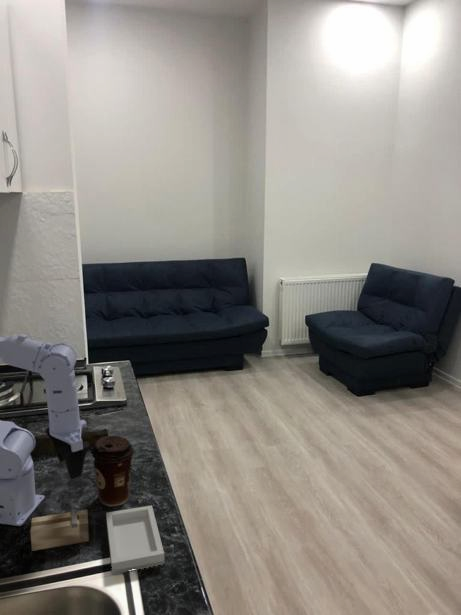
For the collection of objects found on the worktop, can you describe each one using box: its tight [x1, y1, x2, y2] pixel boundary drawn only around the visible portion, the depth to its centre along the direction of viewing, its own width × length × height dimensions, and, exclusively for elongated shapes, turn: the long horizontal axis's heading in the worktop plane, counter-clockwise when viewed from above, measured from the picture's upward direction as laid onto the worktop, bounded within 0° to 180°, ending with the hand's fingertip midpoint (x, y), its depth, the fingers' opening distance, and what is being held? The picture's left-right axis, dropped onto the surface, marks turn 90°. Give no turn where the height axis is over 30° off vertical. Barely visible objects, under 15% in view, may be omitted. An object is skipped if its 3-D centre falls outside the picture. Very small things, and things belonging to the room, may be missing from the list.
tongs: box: [30, 508, 90, 552], centre depth 95 cm, size 10×4×4 cm, turn 107°
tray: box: [105, 505, 165, 576], centre depth 94 cm, size 14×9×2 cm, turn 17°
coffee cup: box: [90, 435, 134, 507], centre depth 106 cm, size 9×8×13 cm
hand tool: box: [31, 428, 110, 455], centre depth 127 cm, size 19×4×5 cm, turn 107°
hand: (70, 467), depth 103 cm, fingers open, 7 cm apart
